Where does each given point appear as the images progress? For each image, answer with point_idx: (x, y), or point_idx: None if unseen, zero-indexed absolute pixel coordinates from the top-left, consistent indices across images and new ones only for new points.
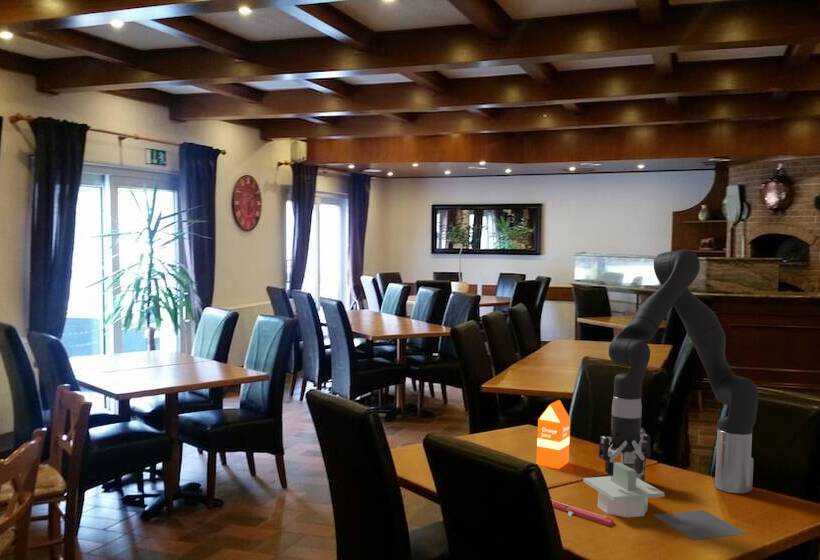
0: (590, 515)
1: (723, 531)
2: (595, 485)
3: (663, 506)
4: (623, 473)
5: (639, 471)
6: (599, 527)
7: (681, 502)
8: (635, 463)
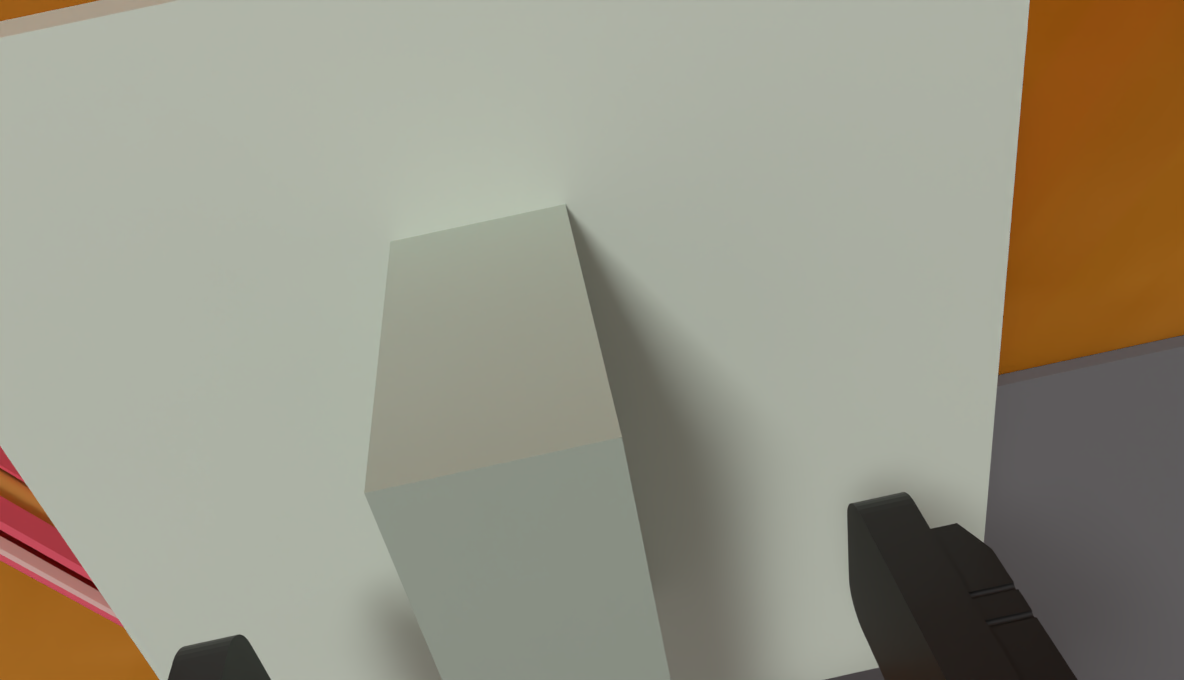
0: (34, 577)
1: (1120, 675)
2: (30, 481)
3: (1083, 149)
4: None
5: (873, 650)
6: (130, 660)
7: None
8: (923, 661)
